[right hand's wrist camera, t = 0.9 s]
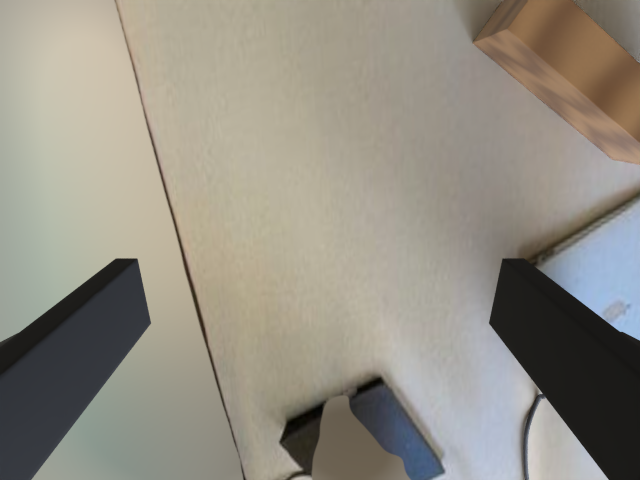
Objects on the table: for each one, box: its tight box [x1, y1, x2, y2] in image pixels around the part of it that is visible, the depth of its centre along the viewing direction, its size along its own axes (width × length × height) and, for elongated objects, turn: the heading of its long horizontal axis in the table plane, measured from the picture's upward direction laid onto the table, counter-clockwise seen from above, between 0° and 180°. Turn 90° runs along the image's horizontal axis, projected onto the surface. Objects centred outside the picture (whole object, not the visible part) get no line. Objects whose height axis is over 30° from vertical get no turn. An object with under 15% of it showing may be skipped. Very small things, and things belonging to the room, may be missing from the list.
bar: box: [473, 0, 640, 165], centre depth 43 cm, size 27×6×9 cm, turn 57°
